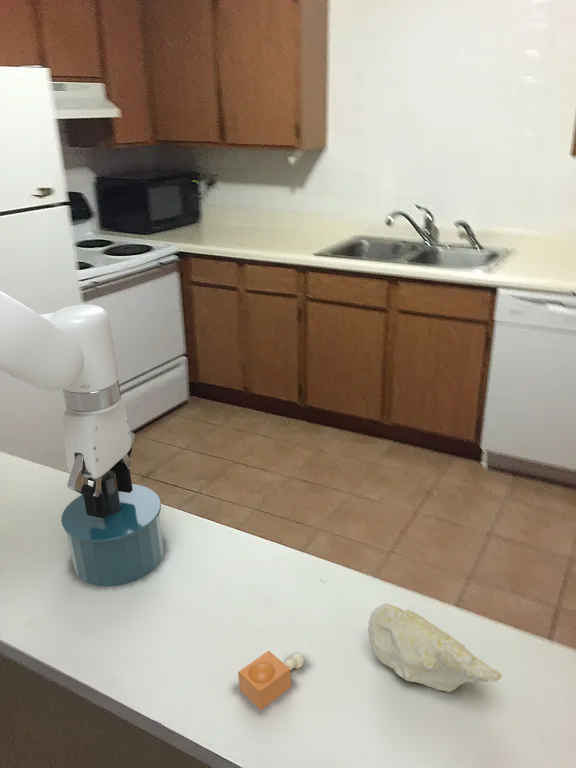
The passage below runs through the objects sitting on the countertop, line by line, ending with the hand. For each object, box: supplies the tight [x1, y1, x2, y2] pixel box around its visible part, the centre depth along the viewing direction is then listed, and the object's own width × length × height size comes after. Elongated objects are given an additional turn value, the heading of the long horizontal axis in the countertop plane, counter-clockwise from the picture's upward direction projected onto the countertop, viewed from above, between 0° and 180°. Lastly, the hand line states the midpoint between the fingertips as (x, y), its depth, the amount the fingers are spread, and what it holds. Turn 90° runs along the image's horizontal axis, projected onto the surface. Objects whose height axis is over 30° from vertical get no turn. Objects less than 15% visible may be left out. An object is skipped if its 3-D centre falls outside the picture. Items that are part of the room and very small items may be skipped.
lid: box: [60, 470, 162, 542], centre depth 100 cm, size 15×15×7 cm
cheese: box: [367, 602, 502, 693], centre depth 81 cm, size 15×7×15 cm
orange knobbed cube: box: [237, 650, 305, 711], centre depth 81 cm, size 8×4×4 cm, turn 132°
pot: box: [66, 514, 165, 587], centre depth 103 cm, size 14×14×8 cm
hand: (110, 501), depth 100 cm, fingers open, 6 cm apart
